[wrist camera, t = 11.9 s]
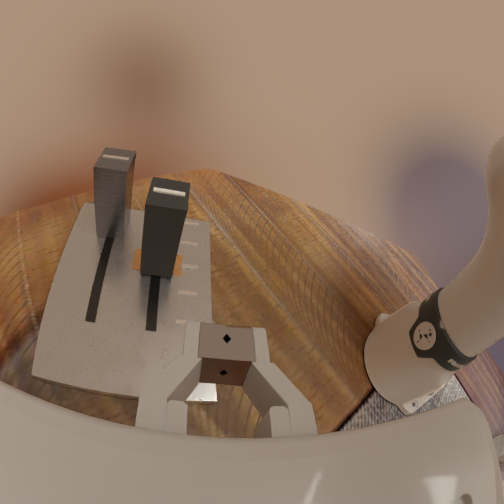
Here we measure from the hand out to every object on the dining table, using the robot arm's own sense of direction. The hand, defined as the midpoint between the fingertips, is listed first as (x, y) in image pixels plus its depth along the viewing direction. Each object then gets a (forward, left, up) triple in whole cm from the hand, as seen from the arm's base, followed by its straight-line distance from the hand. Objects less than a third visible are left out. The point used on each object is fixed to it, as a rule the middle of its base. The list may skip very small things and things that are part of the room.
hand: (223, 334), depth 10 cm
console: (+6, -15, -21) cm, 26 cm away
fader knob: (+3, -17, -18) cm, 26 cm away
